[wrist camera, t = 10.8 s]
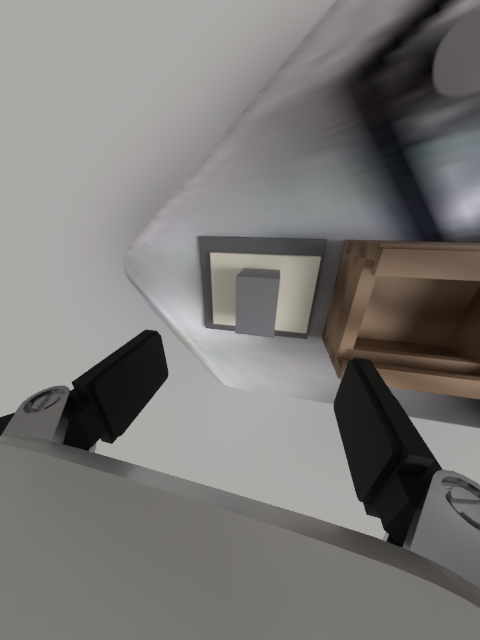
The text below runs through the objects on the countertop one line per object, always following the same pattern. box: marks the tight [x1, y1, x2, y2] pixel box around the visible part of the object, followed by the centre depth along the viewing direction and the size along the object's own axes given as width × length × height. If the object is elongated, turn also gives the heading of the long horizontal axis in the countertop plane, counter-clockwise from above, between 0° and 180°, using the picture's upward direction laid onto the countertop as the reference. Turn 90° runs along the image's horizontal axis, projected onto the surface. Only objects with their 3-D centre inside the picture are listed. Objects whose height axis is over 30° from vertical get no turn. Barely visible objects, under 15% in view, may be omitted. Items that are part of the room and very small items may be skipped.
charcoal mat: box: [199, 237, 327, 339], centre depth 23 cm, size 12×14×1 cm
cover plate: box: [210, 252, 321, 337], centre depth 21 cm, size 9×12×6 cm
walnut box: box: [322, 240, 480, 399], centre depth 17 cm, size 12×14×8 cm
